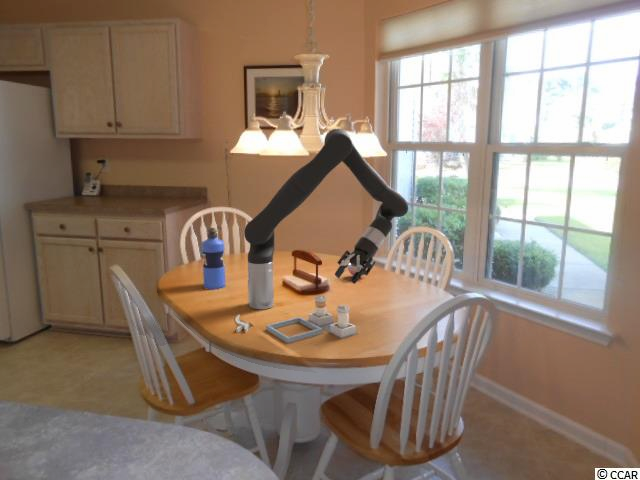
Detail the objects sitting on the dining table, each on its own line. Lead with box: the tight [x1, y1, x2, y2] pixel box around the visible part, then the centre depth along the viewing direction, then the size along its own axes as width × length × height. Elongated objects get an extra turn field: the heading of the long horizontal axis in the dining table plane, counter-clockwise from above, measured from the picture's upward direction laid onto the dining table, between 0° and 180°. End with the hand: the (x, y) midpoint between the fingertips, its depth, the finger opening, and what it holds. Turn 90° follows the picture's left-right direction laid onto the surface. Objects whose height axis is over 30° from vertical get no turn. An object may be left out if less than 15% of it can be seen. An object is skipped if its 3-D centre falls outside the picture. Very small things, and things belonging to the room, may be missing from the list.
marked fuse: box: [314, 295, 327, 318], centre depth 162 cm, size 4×4×8 cm
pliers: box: [235, 314, 254, 334], centre depth 164 cm, size 10×2×15 cm
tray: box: [265, 316, 324, 344], centre depth 155 cm, size 13×13×2 cm
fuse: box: [336, 304, 350, 329], centre depth 153 cm, size 4×4×8 cm
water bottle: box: [200, 227, 226, 290], centre depth 203 cm, size 9×9×25 cm
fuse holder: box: [306, 311, 359, 340], centre depth 158 cm, size 19×7×4 cm, turn 36°
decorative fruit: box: [347, 261, 367, 276], centre depth 217 cm, size 9×8×10 cm
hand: (344, 279), depth 167 cm, fingers open, 8 cm apart
